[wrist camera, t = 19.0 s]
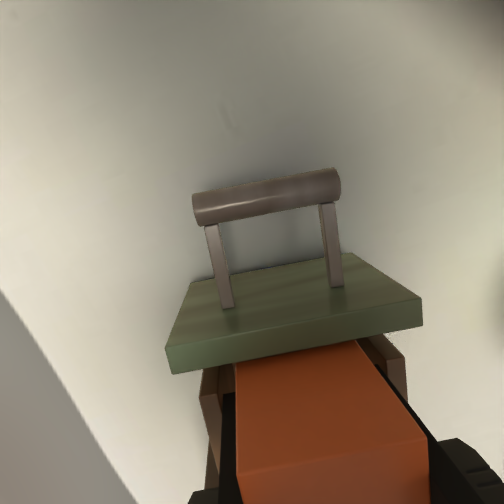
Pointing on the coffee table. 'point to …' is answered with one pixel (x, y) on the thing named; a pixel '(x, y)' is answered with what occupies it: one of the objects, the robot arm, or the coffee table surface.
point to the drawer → (283, 297)
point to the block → (325, 432)
